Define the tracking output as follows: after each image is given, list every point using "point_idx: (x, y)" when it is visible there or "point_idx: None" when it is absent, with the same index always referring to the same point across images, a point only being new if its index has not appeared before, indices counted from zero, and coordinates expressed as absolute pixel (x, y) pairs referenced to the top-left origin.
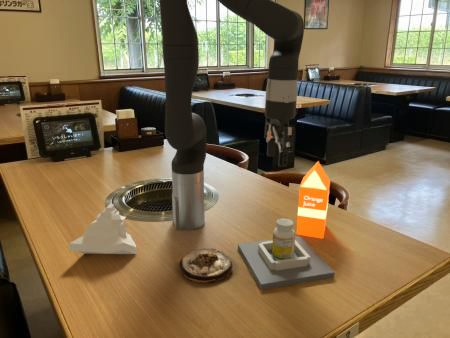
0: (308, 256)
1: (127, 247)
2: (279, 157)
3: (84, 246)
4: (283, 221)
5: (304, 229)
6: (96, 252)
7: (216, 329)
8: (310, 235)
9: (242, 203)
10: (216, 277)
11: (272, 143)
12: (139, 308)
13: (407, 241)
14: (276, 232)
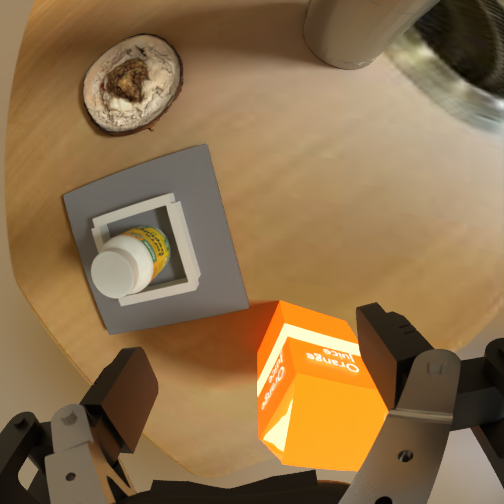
0: (122, 302)
1: None
2: (102, 380)
3: None
4: (114, 271)
5: (274, 323)
6: None
7: (10, 134)
8: (267, 330)
9: (453, 185)
10: (86, 109)
11: (395, 394)
12: (54, 25)
13: (245, 462)
14: (108, 244)
